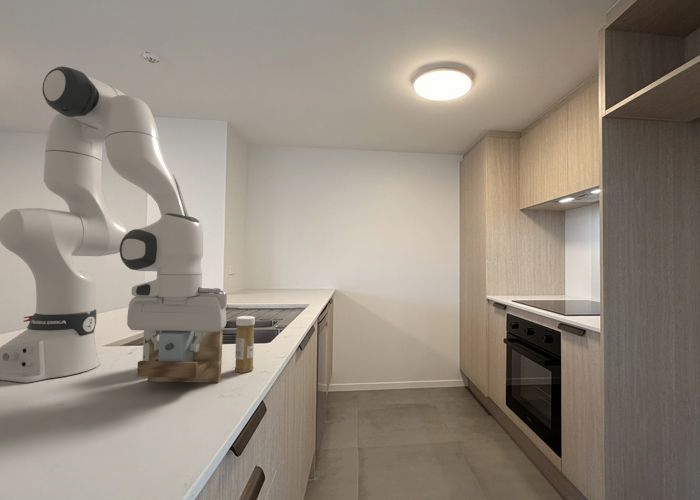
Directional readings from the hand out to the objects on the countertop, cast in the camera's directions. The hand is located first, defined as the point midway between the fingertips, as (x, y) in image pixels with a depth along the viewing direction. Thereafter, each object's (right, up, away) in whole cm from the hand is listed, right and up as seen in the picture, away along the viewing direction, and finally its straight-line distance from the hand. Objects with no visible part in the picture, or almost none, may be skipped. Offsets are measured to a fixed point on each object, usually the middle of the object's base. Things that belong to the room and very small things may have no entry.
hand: (176, 351), depth 71 cm
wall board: (0, -8, 0) cm, 8 cm away
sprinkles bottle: (+11, -9, +12) cm, 18 cm away
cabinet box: (0, -3, 0) cm, 3 cm away
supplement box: (-9, -8, +12) cm, 17 cm away
